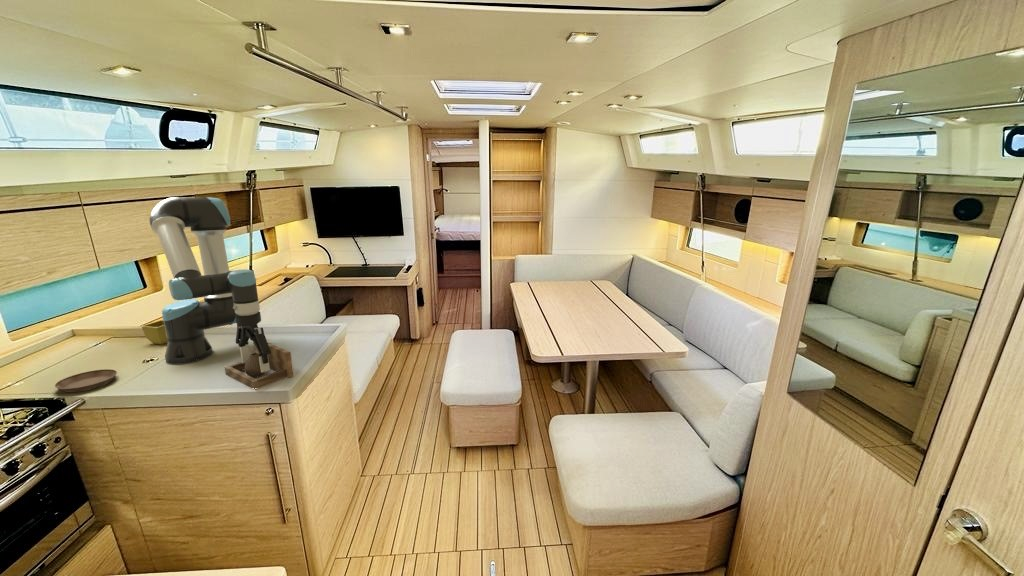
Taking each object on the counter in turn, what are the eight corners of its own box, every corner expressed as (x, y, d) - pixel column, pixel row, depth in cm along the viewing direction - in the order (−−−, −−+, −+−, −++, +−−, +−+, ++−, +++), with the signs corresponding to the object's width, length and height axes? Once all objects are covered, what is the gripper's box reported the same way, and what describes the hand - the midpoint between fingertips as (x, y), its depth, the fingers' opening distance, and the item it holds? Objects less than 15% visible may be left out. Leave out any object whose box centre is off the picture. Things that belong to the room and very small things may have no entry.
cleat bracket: (223, 373, 144) (219, 349, 142) (260, 361, 155) (256, 338, 153) (256, 390, 132) (252, 364, 130) (293, 376, 143) (290, 351, 141)
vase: (257, 380, 140) (254, 358, 137) (241, 378, 141) (237, 356, 139) (272, 372, 146) (269, 351, 144) (256, 370, 147) (253, 349, 145)
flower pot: (144, 345, 168) (140, 325, 166) (165, 337, 176) (161, 319, 174) (161, 346, 167) (157, 327, 165) (181, 339, 175) (177, 321, 173)
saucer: (115, 371, 144) (114, 365, 144) (121, 384, 135) (119, 377, 134) (56, 385, 133) (54, 378, 132) (57, 400, 124) (55, 393, 123)
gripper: (219, 309, 140) (228, 361, 146) (254, 321, 128) (262, 379, 133) (241, 304, 147) (249, 355, 152) (277, 316, 134) (284, 370, 139)
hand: (255, 366), depth 143 cm, fingers open, 13 cm apart
